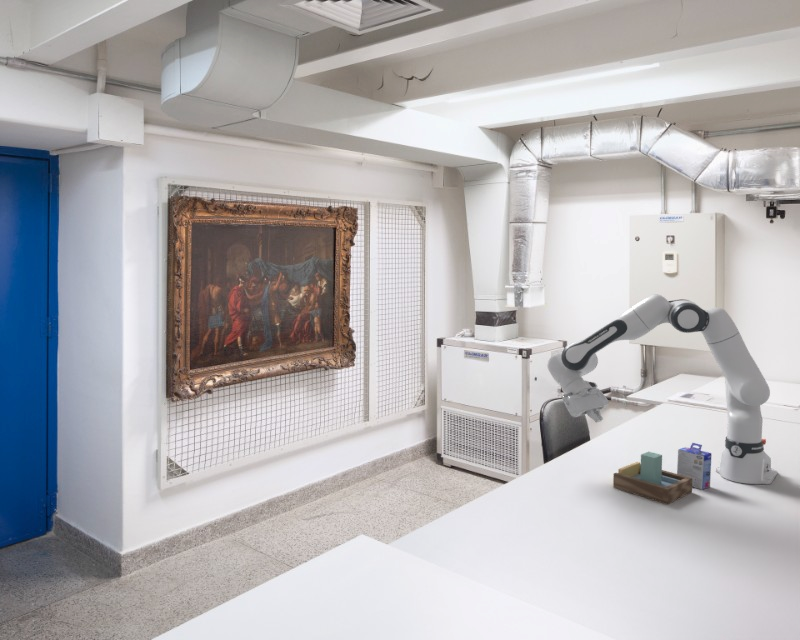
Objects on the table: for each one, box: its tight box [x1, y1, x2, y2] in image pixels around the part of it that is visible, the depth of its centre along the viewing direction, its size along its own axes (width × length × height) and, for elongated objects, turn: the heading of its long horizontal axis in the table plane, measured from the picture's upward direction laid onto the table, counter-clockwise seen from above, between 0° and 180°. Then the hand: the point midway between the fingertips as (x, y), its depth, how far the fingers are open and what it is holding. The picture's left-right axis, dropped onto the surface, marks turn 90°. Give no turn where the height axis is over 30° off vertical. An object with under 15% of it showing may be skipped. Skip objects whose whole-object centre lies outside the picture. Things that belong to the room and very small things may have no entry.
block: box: [640, 451, 663, 485], centre depth 223 cm, size 5×5×10 cm
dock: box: [612, 463, 693, 505], centre depth 223 cm, size 16×20×5 cm
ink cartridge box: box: [676, 442, 712, 490], centre depth 227 cm, size 10×6×14 cm, turn 37°
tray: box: [617, 461, 680, 487], centre depth 224 cm, size 12×17×5 cm
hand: (599, 421), depth 238 cm, fingers closed
